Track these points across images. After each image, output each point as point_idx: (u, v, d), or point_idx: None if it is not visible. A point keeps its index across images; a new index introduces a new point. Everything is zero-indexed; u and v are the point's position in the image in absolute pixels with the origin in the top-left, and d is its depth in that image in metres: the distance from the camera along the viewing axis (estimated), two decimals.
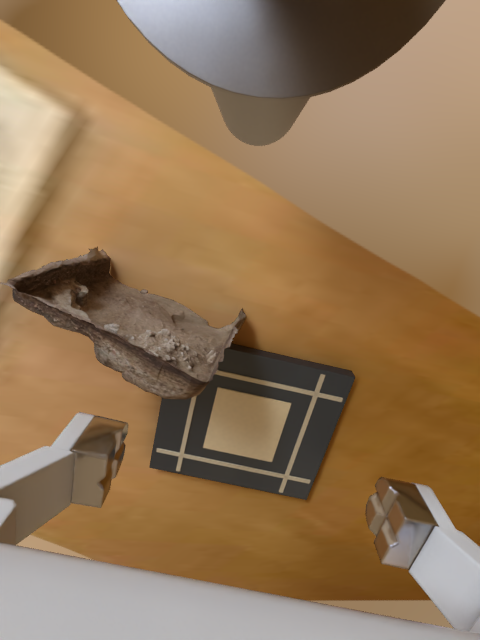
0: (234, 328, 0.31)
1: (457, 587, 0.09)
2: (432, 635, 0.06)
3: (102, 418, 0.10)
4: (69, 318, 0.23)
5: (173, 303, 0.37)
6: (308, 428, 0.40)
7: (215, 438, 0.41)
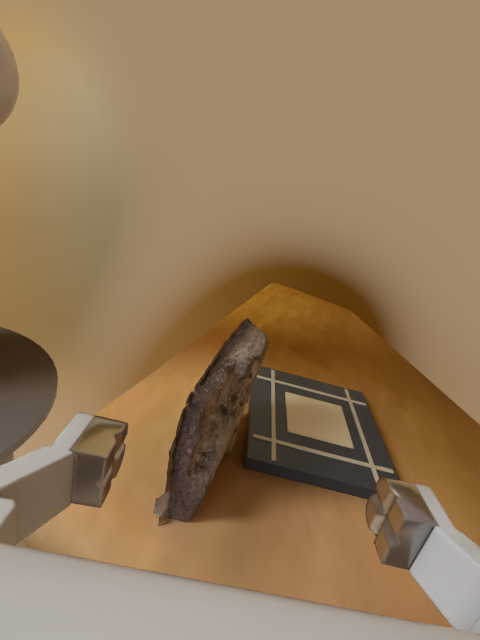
0: None
1: (457, 586, 0.09)
2: (432, 635, 0.06)
3: (102, 418, 0.10)
4: (215, 371, 0.28)
5: None
6: (302, 386, 0.54)
7: (339, 437, 0.44)
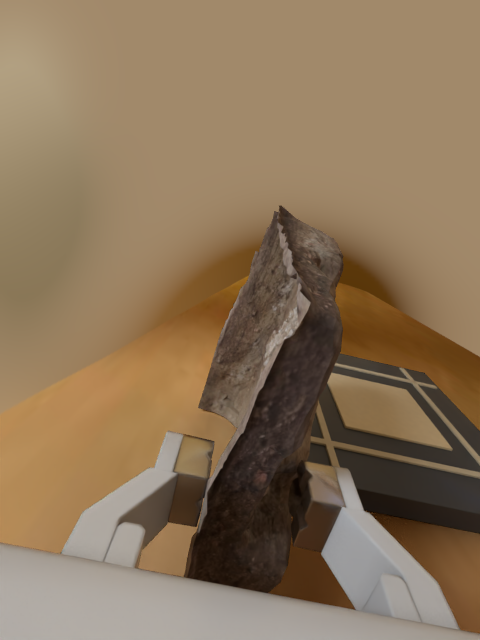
0: (222, 335, 0.24)
1: (358, 567, 0.09)
2: (432, 635, 0.06)
3: (191, 437, 0.10)
4: (297, 261, 0.11)
5: None
6: (343, 364, 0.37)
7: (424, 434, 0.27)
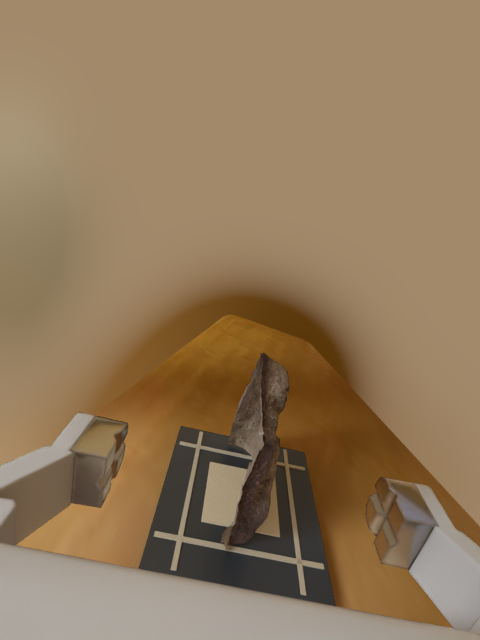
0: (238, 407, 0.45)
1: (457, 586, 0.09)
2: (432, 635, 0.06)
3: (102, 418, 0.10)
4: (266, 410, 0.32)
5: None
6: (232, 451, 0.47)
7: (264, 523, 0.38)
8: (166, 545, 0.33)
